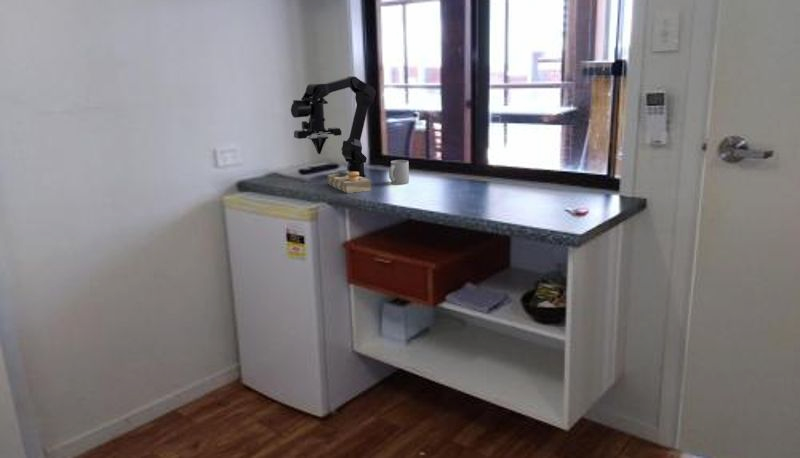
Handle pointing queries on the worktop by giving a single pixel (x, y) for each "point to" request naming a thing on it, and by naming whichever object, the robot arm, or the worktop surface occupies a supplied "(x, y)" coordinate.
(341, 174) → the grey mushroom knob
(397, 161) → the cup
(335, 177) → the housing
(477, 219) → the worktop surface
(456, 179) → the worktop surface
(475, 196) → the worktop surface
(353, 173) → the mushroom knob terracotta
